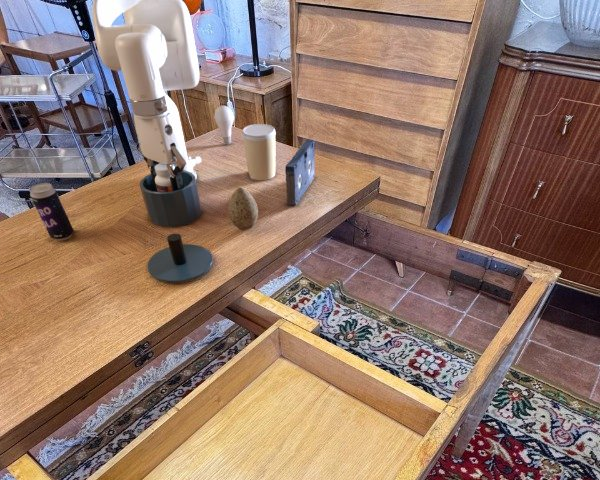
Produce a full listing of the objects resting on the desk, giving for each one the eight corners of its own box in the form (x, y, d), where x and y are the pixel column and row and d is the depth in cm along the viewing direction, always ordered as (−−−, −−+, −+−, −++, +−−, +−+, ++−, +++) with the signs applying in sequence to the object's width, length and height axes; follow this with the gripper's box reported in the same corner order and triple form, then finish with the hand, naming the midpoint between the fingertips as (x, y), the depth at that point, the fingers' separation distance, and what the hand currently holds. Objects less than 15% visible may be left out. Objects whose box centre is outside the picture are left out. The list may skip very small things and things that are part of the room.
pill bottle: (176, 218, 113) (165, 173, 104) (157, 213, 115) (145, 168, 106) (191, 207, 116) (182, 163, 108) (173, 202, 118) (162, 159, 110)
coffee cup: (280, 168, 133) (278, 123, 123) (275, 182, 127) (272, 136, 118) (250, 167, 134) (245, 122, 124) (243, 181, 128) (238, 135, 119)
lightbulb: (240, 145, 144) (235, 107, 136) (222, 149, 143) (217, 110, 134) (232, 139, 148) (227, 101, 139) (215, 143, 146) (209, 105, 138)
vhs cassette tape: (306, 175, 129) (306, 138, 121) (316, 177, 128) (316, 139, 121) (285, 205, 118) (283, 166, 110) (295, 206, 117) (294, 167, 110)
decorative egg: (237, 238, 108) (231, 197, 100) (226, 225, 112) (220, 185, 104) (263, 230, 110) (260, 190, 102) (252, 218, 114) (248, 178, 106)
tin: (176, 196, 122) (169, 164, 116) (212, 210, 117) (206, 177, 110) (138, 217, 115) (128, 184, 109) (174, 232, 110) (165, 199, 103)
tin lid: (182, 242, 107) (175, 213, 102) (226, 261, 101) (221, 232, 96) (135, 270, 100) (125, 241, 94) (180, 293, 94) (172, 263, 88)
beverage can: (51, 232, 111) (27, 184, 102) (74, 228, 112) (53, 180, 103) (51, 244, 108) (27, 195, 98) (75, 239, 109) (53, 190, 100)
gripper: (189, 108, 96) (204, 191, 109) (136, 94, 102) (157, 174, 116) (163, 118, 92) (182, 203, 106) (110, 103, 99) (135, 185, 112)
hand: (169, 187), depth 111 cm, fingers closed on pill bottle, 6 cm apart
